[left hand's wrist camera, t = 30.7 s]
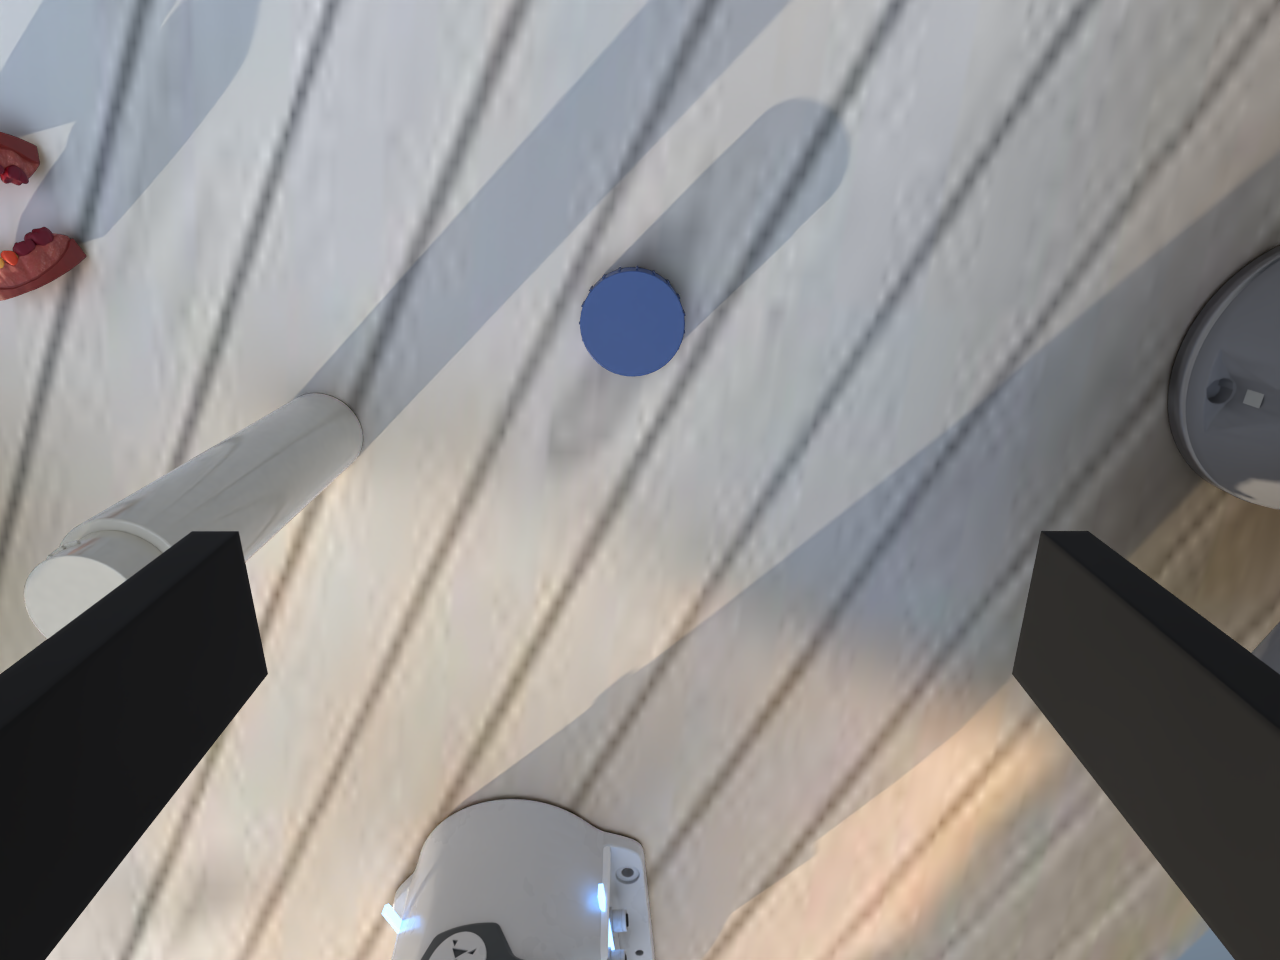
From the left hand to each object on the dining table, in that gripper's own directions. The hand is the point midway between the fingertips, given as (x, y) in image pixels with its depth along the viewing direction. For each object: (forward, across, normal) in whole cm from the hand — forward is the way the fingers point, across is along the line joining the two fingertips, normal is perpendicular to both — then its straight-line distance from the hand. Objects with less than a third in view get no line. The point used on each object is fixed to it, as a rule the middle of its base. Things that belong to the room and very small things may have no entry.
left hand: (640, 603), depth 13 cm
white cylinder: (+30, +18, +6) cm, 36 cm away
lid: (+29, 0, 0) cm, 29 cm away
